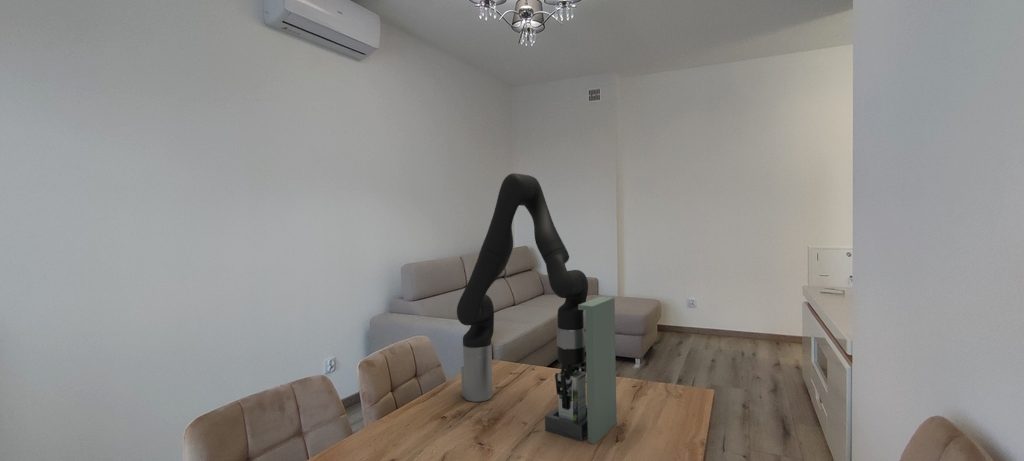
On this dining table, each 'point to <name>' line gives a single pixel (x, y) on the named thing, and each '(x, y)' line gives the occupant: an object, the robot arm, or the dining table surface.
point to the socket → (566, 426)
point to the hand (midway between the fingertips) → (571, 404)
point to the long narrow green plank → (600, 366)
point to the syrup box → (575, 399)
